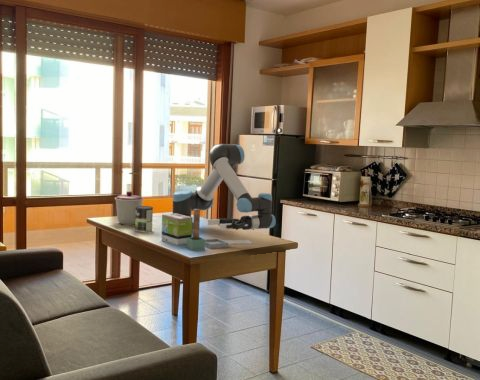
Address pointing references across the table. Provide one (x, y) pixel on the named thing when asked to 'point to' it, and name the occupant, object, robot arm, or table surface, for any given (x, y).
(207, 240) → the tray
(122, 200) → the canister
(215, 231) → the table surface
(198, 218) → the dowel
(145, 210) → the coffee can
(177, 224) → the tea box
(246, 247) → the table surface
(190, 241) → the cup
